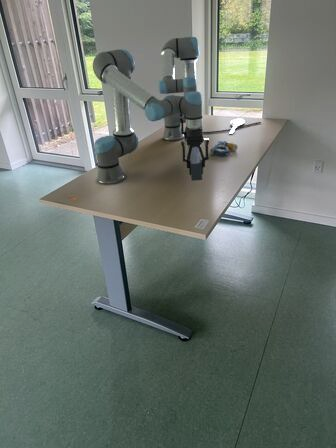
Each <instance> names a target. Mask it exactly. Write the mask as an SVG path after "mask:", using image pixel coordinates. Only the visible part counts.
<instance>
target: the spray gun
mask: <svg viewBox="0 0 336 448" xmlns="http://www.w3.org/2000/svg"><path fill="white" fill-rule="evenodd" d="M237 150H238V144H235V143H233V142H227V140H223V141H217V143H215V145H214V146H213V147H212V148H211V149H210V150H209V153H210V154H211V155H212V156H214V155H216V156H220V157H227V156H229V155H230V153H231V151H232V152H236V151H237Z"/></svg>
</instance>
